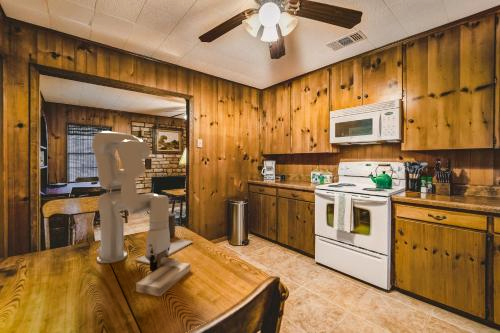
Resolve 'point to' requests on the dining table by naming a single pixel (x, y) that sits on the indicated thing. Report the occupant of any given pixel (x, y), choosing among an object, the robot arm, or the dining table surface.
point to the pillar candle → (172, 224)
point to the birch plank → (162, 279)
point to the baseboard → (173, 248)
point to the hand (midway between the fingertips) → (159, 266)
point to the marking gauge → (165, 260)
